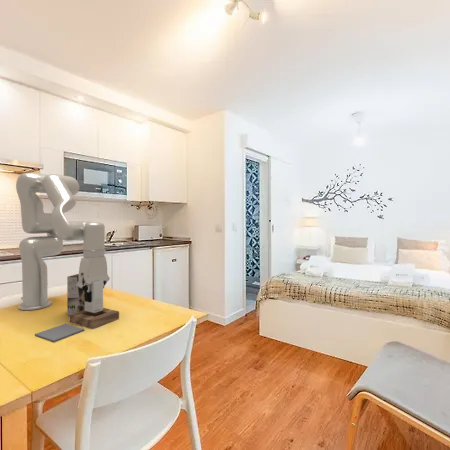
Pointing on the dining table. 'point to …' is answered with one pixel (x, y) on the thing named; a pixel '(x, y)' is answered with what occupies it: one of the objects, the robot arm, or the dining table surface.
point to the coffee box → (74, 295)
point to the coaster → (59, 332)
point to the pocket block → (94, 318)
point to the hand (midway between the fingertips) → (93, 299)
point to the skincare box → (95, 298)
